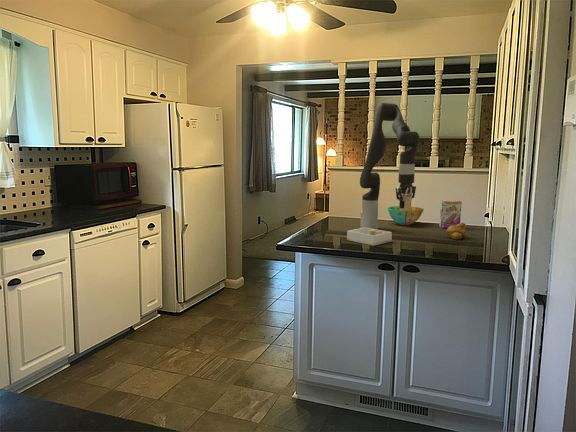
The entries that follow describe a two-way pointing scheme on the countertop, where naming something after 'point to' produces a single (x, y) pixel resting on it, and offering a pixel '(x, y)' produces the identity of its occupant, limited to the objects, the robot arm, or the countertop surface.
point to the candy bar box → (449, 213)
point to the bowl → (405, 215)
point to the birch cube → (375, 232)
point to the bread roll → (456, 231)
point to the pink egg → (406, 203)
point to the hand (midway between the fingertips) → (405, 207)
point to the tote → (368, 236)
